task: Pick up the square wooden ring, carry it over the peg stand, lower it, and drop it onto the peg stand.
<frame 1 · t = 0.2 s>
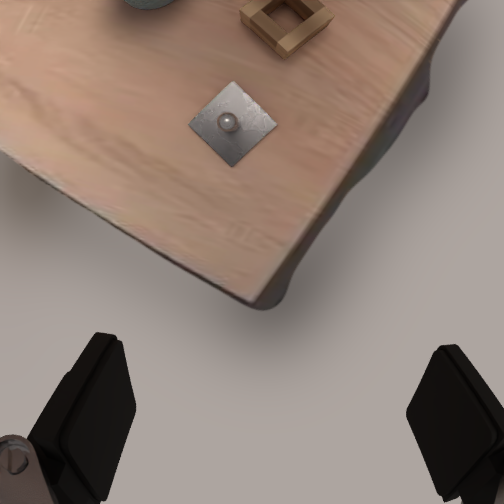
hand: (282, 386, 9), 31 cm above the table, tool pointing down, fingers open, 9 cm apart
square wooden ring: (284, 22, 30), on the table
peg stand: (232, 123, 34), on the table
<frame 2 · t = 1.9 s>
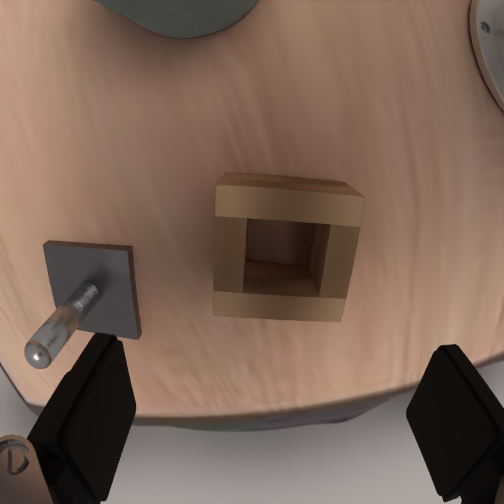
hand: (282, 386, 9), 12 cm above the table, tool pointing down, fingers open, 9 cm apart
square wooden ring: (280, 233, 20), on the table
peg stand: (93, 288, 22), on the table
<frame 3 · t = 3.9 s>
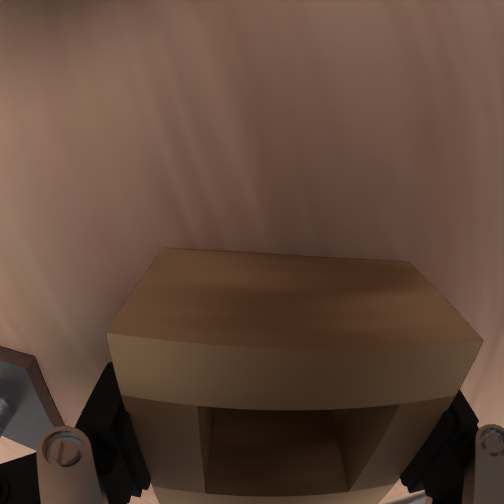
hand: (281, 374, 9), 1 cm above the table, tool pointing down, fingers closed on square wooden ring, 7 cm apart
square wooden ring: (279, 358, 10), on the table, touching gripper
peg stand: (6, 395, 11), on the table
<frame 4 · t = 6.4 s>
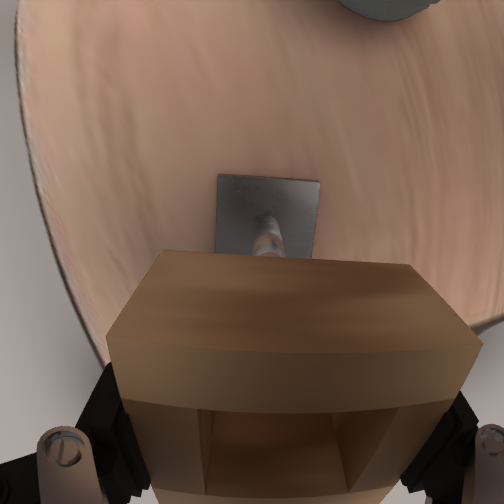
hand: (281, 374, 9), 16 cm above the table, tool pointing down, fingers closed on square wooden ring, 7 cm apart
square wooden ring: (279, 359, 10), point 15 cm above the table, touching gripper
peg stand: (265, 224, 24), on the table
when the fingers open (6 cm above the table, at t = 9.4 s): square wooden ring drops 5 cm, resting on peg stand.
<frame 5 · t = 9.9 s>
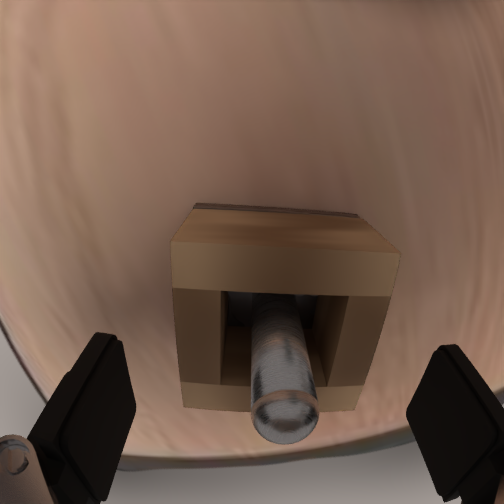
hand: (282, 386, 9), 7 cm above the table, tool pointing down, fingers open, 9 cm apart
square wooden ring: (273, 290, 14), point 1 cm above the table, touching peg stand
peg stand: (271, 281, 15), on the table
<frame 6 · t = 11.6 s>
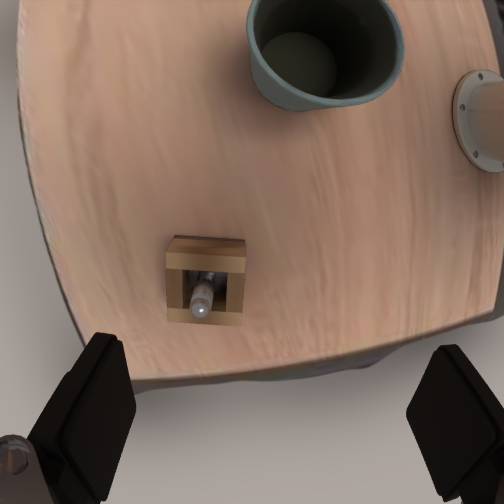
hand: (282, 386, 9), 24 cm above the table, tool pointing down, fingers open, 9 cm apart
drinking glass: (297, 67, 27), on the table
square wooden ring: (208, 273, 33), point 1 cm above the table, touching peg stand
peg stand: (208, 269, 33), on the table
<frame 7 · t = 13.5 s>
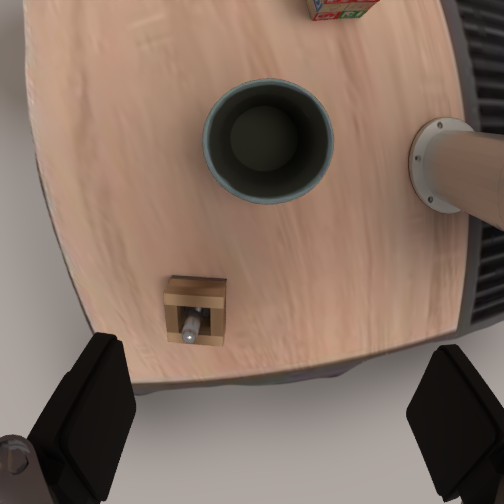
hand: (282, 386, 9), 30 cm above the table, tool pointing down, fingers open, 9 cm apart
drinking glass: (264, 138, 35), on the table
square wooden ring: (198, 304, 41), point 1 cm above the table, touching peg stand
peg stand: (199, 301, 42), on the table
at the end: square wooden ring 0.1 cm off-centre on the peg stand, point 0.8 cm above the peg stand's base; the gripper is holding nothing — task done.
